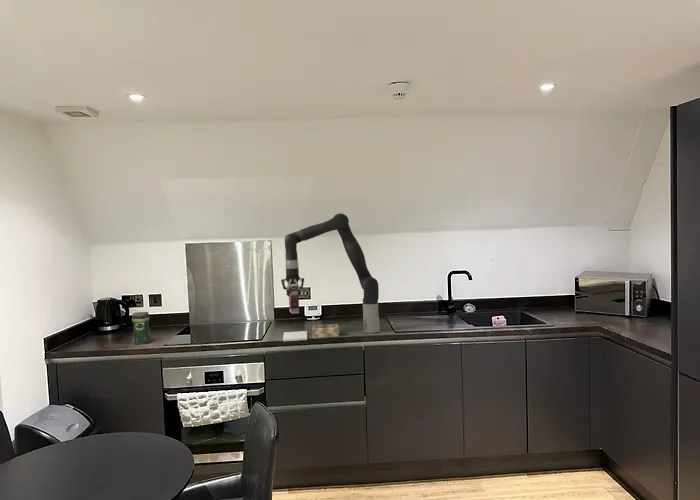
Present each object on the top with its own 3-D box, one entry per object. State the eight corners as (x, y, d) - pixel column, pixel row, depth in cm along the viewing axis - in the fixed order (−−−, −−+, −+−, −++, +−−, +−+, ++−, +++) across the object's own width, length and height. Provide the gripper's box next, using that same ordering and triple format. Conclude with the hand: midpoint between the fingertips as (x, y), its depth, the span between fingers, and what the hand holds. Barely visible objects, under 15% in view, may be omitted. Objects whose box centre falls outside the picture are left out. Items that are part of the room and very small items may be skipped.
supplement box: (289, 311, 317) (287, 285, 317) (297, 311, 319) (295, 284, 318) (291, 313, 309) (290, 286, 308) (299, 313, 310) (298, 286, 309)
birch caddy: (337, 332, 323) (337, 324, 322) (339, 336, 311) (338, 327, 311) (312, 333, 321) (312, 325, 321) (312, 337, 310) (312, 329, 310)
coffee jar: (152, 341, 320) (150, 310, 319) (149, 343, 312) (147, 312, 311) (135, 342, 319) (133, 311, 318) (132, 345, 311) (130, 313, 310)
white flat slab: (306, 332, 325) (306, 331, 325) (307, 339, 305) (307, 338, 305) (284, 334, 324) (283, 332, 324) (282, 341, 304) (282, 339, 304)
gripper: (279, 268, 308) (281, 297, 309) (304, 267, 309) (305, 296, 310) (280, 267, 315) (281, 295, 316) (304, 266, 317) (305, 294, 318)
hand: (293, 295), depth 313 cm, fingers closed on supplement box, 5 cm apart
